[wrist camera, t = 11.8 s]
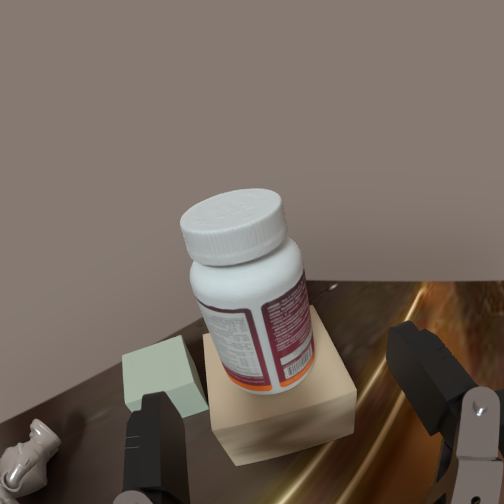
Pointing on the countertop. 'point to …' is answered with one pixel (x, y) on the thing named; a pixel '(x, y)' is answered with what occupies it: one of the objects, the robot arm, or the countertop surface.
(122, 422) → the countertop surface
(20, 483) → the figurine
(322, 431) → the oak block
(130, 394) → the sage block
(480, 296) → the countertop surface
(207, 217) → the pill bottle
